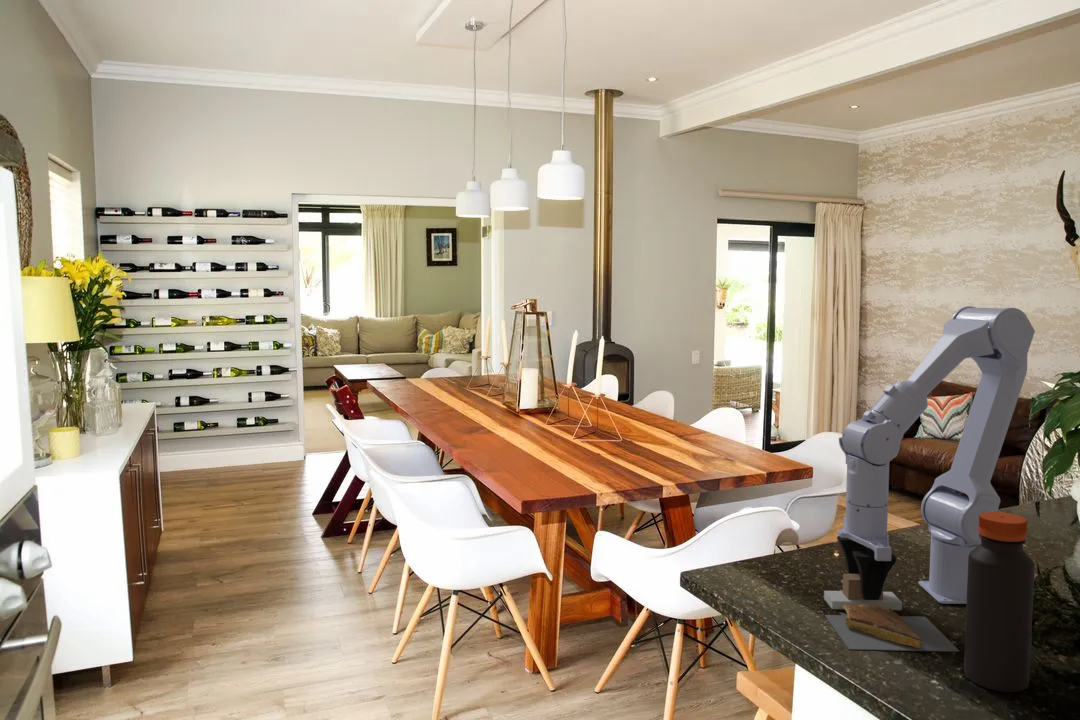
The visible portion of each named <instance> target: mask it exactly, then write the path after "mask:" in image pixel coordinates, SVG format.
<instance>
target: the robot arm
mask: <svg viewBox="0 0 1080 720" xmlns="http://www.w3.org/2000/svg"><path fill="white" fill-rule="evenodd" d="M1035 333H1036V330H1035V328H1034V327H1033V325H1032V323H1031V321H1030V319H1029V317H1028V316H1027V314H1026V313H1025V312H1024V311H1022V309H1019V308H1016V307H1005V308H998V307H997V308H996V307H995V308H993V307H975V306H972V305H971V306H970V305H968V306H963V307H961V308H959V309H957V310H956V311H955V312H954V313H953V314H952V316H951V318H950V319H948V321H946V322H944V324H943V328H942V334H941V336H940V337H939V338H938V340H937V341H936V343H935V344H933V346H932V347H931V349H930V350H929V352H927V354H926V355H925V357H924V358H923V359H922V360H921V362H920V363H919V364H918V365H917V367H916V368H915V369H914V370H913V372H912V373H911V375H910V376H909V377H908V379H906V380H903V381H895V382H893V383H892V384H887V385H886V386H885V388H884V389H883V391H882V392H883V394H882V395H881V396H879V399H878V400H876V402H874V404H873V405H872V406H871V407H870V408H869V410H866V411H864V413H863V414H862V417H861V419H856V420H853V421H851V422H850V423H848V425H847V426H846V427H845V428H844V430H843V432H842V435H841V437H838V443H839V448H840V449H841V450H842V452H843V454H844V456H845V464H846V486H845V487H846V490H845V491H846V493H845V516H843V518H842V519H843V521H842V522H843V523H842V524H843V525H842V528H838V529H836V534H837V535H838V536H836V539H837V541H838V543H839V546H840V548H841V550H842V553H843V556H844V560H845V565H846V570H847V574H860V582H861V591H862V596H863V598H864V599H865V600H879V598H880V595H881V592H882V589H883V590H884V584H885V581H886V579H887V576H888V574H889V572H890V571H891V570H892V568H893V566H894V565H896V562H897V557H896V556H895V555H894V554H893V553H892V551H893V550H892V547H891V545H890V541H889V540H890V539H889V532H888V517H889V516H888V515H889V485H890V483H889V482H890V481H889V480H890V462H891V461H892V460H893V459H894V458H897V457H898V454H899V452H900V448H901V441H902V440H903V439H904V434H905V433H906V432H907V431H908V430H909V429H910V427H911V426H912V425H913V424H914V423H915V422H916V421H917V420H918V418H919V417H920V416H921V415H922V414H923V413H924V412H925V411H926V410H927V409H928V405H929V402H928V395H929V394H930V393H931V392H932V391H933V390H934V389H935V388H936V387H937V386H938V385H939V384H940V383H941V382H943V381H944V379H945V378H947V376H948V375H950V373H951V372H953V371H954V370H955V369H956V368H957V367H958V366H959V365H960V364H961V363H962V362H963V361H964V360H966V359H969V358H970V359H972V360H973V361H974V362H975V363H976V365H977V366H978V368H979V370H980V371H981V376H980V379H979V382H978V386H977V389H976V391H975V395H974V398H973V400H972V403H971V407H970V410H969V413H968V416H967V419H966V422H965V424H964V428H963V431H962V434H961V437H960V440H959V443H958V445H957V449H956V451H955V454H954V457H953V461H952V464H951V467H950V469H949V470H948V471H946V472H944V473H942V474H940V475H939V476H937V477H936V478H935V479H934V482H933V485H932V487H931V488H930V490H929V491H928V492H927V493H926V494H925V495H924V497H923V498H922V501H921V506H920V513H921V516H922V517H921V518H922V519H923V520H924V522H925V524H927V525H928V532H929V533H930V552H929V553H930V554H929V555H930V556H929V578H928V579H929V580H919V581H918V582H917V583H918V585H919V586H920V587H921V588H922V589H924V590H925V591H926V592H927V593H928V594H929V595H930V596H931V597H932V598H934V599H935V600H936V601H937V602H938V603H939V604H947V605H948V604H949V605H952V604H953V605H958V604H959V605H966V602H967V577H968V556H969V554H970V552H971V551H972V550H973V549H974V548H976V547H977V546H978V545H980V544H981V538H980V537H979V532H978V528H979V515H980V514H981V513H983V512H999V507H1000V504H1001V498H1000V496H999V495H998V493H997V491H996V490H995V488H994V487H993V485H992V483H991V480H992V478H993V475H994V472H995V469H996V466H997V462H998V459H999V457H1000V453H1001V451H1002V447H1003V444H1004V443H1005V442H1004V441H1005V439H1006V436H1007V432H1008V429H1009V426H1010V423H1011V421H1012V418H1013V415H1014V412H1015V409H1016V406H1017V402H1018V399H1019V397H1020V395H1021V391H1022V388H1023V384H1024V381H1025V378H1026V375H1027V371H1028V353H1029V350H1030V347H1031V344H1032V341H1033V339H1034V335H1035ZM963 494H966V495H967V496H965V495H963Z"/></svg>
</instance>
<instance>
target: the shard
mask: <svg viewBox="0 0 1080 720" xmlns="http://www.w3.org/2000/svg"><path fill="white" fill-rule="evenodd" d="M843 608H844V609H843V610H844V611H845V612H846V613H847V614H846V615H848V618H847V619H846V625H847V627H849V628H850V629H855V630H860V631H862V632H864V633H869V634H872V635H874V636H877V637H879V638H882V639H885V640H889V641H893V642H896V643H898V644H903V645H910V646H913V647H916V648H920V644H921V643H922V642H923V641H922V640H921V639H920V638H919V637H918V636H917V635H916V634H915V633H914V632H913V631H912V630H911V629H910V627H909V626H908V625H907V624H906V623H905V622H904V620H903V619H902V618H900V616H901V615H899V614H898V613H896V612H895V610H892V609H888V608H885V607H881V606H877V605H844V606H843Z"/></svg>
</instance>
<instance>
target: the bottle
mask: <svg viewBox="0 0 1080 720" xmlns="http://www.w3.org/2000/svg"><path fill="white" fill-rule="evenodd" d="M1027 531H1028V520H1027V518H1025V517H1023V516H1021V515H1018V514H1015V513H1010V512H1003V511H998V512H983V513H981V514H980V515H979V528H978V532H979V537H980V538H981V544H980V545H978V546H977V547H976V548H974V549H973V550H972V551H971V552H970V554H969V556H968V577H967V602H966V604H965V605H966V606H965V607H966V609H965V630H964V631H965V632H964V633H965V634H964V653H963V654H964V657H963V671H964V675H965V676H966V677H967V678H968V679H969V680H970V681H971V682H973V683H974V684H976V685H978V686H981V687H982V688H986V689H988V690H992V691H995V692H1002V693H1018V692H1022V691H1024V690H1026V689H1027V688H1028V687H1029V685H1030V684H1029V683H1030V672H1031V671H1030V669H1031V668H1030V667H1031V649H1032V646H1031V645H1032V631H1033V630H1032V624H1033V610H1034V609H1033V607H1034V606H1033V605H1034V588H1035V570H1036V569H1035V567H1036V564H1035V562H1034V561H1033V559H1032V558H1031V557H1030V555H1029V554H1027V552H1025V550H1024V545H1025V544H1026V542H1027V536H1028V533H1027Z"/></svg>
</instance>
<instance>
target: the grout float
mask: <svg viewBox="0 0 1080 720" xmlns="http://www.w3.org/2000/svg"><path fill="white" fill-rule="evenodd" d="M823 599H824V600H825V601H826V603H827V604H828V606H829V607H830V608H831V609H832V610H845V609H844V608H843V606H844V605H877V606H881V607H885V608H888V609H892V611H903V602H902V601H901V599H899V597H897V596H896V595H895V594H894V592H893V591H884V588H883V589H882V592H881V595H880V598H879V600H865V599H864V598H863V596H862V591H861V582H860V574H848V573H843V574H842V590H823Z"/></svg>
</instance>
